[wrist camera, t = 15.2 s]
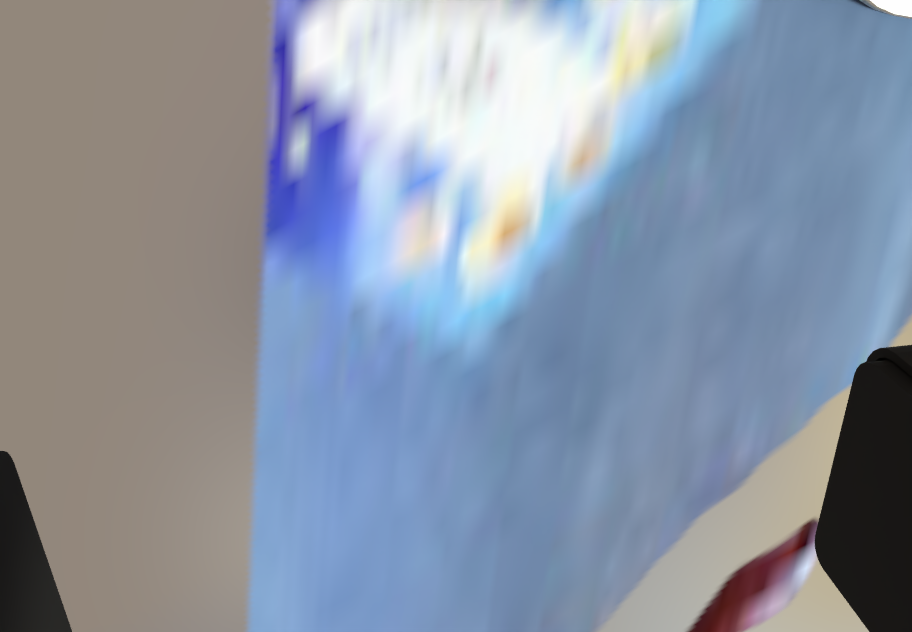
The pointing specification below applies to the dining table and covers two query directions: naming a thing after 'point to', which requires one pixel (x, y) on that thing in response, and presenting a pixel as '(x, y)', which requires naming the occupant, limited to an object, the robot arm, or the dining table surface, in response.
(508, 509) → the dining table surface
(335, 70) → the dining table surface
